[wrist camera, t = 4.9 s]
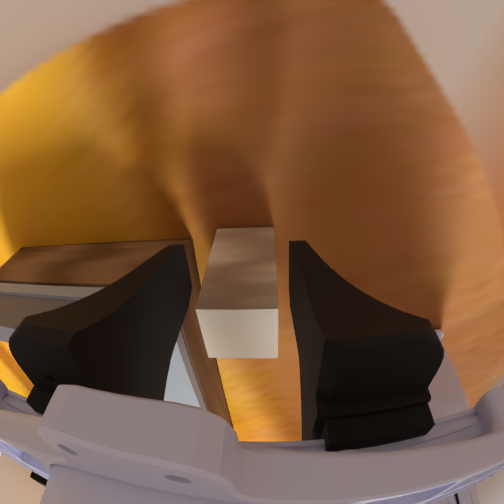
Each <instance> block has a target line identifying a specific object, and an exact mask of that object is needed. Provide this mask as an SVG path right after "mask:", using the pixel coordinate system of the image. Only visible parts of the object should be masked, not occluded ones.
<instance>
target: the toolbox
mask: <svg viewBox="0 0 504 504" xmlns="http://www.w3.org/2000/svg"><path fill="white" fill-rule="evenodd" d="M180 244H184V247H185V252H186V257H187V262H188V267H189V272H190V277H191V282H192V292H191V297H190V302H189V307H188V310H187V313H186V316H185V319H184V322H183V324H182V327H181V333H182V337H183V340H184V343H185V346H186V349H187V353H188V356H189V359H190V362H191V365H192V368H193V371H194V374H195V377H196V380H197V383H198V386H199V389H200V392H201V394H202V397H203V400H204V403H205V405H206V408H207V411H209V412H211V413H214V414H216V415H218V416H220V417H222V418H223V419H224V420H226V421H227V423H228V424H229V425H230V426H231V427H232V428H233V425H232V421H231V417H230V413H229V409H228V405H227V402H226V398H225V394H224V390H223V385H222V381H221V377H220V373H219V369H218V365H217V360H216V358H209V357H208V354H207V350H206V347H205V343H204V339H203V336H202V332H201V328H200V325H199V321H198V317H197V313H196V306H197V302H198V298H199V294H200V290H201V284H200V279H199V274H198V268H197V263H196V257H195V252H194V246H193V240H192V239H175V240H152V241H131V242H111V243H93V244H75V245H58V246H41V247H26V248H21V249H20V250H19V251H18V252H17V253H15V254H14V255H13V256H12V257H11V258H10V259H9V260H8V261H7V262H6V263H5V264H3V265H2V266H1V267H0V283H12V284H29V285H49V286H73V287H107V286H108V285H110V284H112V283H114V282H115V281H117V280H119V279H120V278H122V277H123V276H125V275H126V274H128V273H129V272H131V271H132V270H134V269H135V268H137V267H138V266H139V265H141V264H142V263H144V262H145V261H146V260H148V259H149V258H151V257H152V256H153V255H155V254H156V253H158V252H159V251H160V250H162V249H163V248H165V247H167V246H169V245H180ZM233 429H234V428H233Z"/></svg>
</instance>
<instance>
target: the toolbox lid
mask: <svg viewBox="0 0 504 504" xmlns="http://www.w3.org/2000/svg"><path fill="white" fill-rule="evenodd" d="M103 288H105V287H73V286H49V285H29V284H12V283H0V340H1V341H4V342H8V343H9V338H10V336H11V335H12V333H13V332H14V331H15V329H16V328H17V327H18V325H19V324H20V323H21V322H22V320H23V319H24V318H25V317H26V316H31V315H35V314H39V313H43V312H46V311H50V310H53V309H56V308H59V307H62V306H65V305H68V304H70V303H73V302H76V301H78V300H80V299H82V298H84V297H87V296H89V295H91V294H93V293H95V292H97V291H99V290H101V289H103ZM164 401H171V402H177V403H182V404H186V405H191V406H196V407H201V408H203V409H205V410H207V408H206V405H205V403H204V400H203V397H202V394H201V392H200V389H199V386H198V383H197V380H196V377H195V374H194V371H193V368H192V365H191V362H190V359H189V356H188V353H187V349H186V346H185V343H184V340H183V337H182V333H181V330H180V333H179V336H178V339H177V341H176V344H175V347H174V350H173V354H172V357H171V362H170V367H169V372H168V377H167V383H166V389H165V395H164Z"/></svg>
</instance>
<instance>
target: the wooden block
mask: <svg viewBox="0 0 504 504" xmlns="http://www.w3.org/2000/svg"><path fill="white" fill-rule="evenodd" d="M196 313H197V317H198V321H199V325H200V328H201V332H202V336H203V339H204V343H205V347H206V350H207V354H208V357H209V358H278V294H277V272H276V251H275V232H274V227H251V228H223V229H217V230H216V234H215V238H214V241H213V245H212V249H211V252H210V256H209V260H208V263H207V267H206V271H205V275H204V279H203V282H202V286H201V290H200V294H199V298H198V302H197V306H196Z"/></svg>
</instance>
